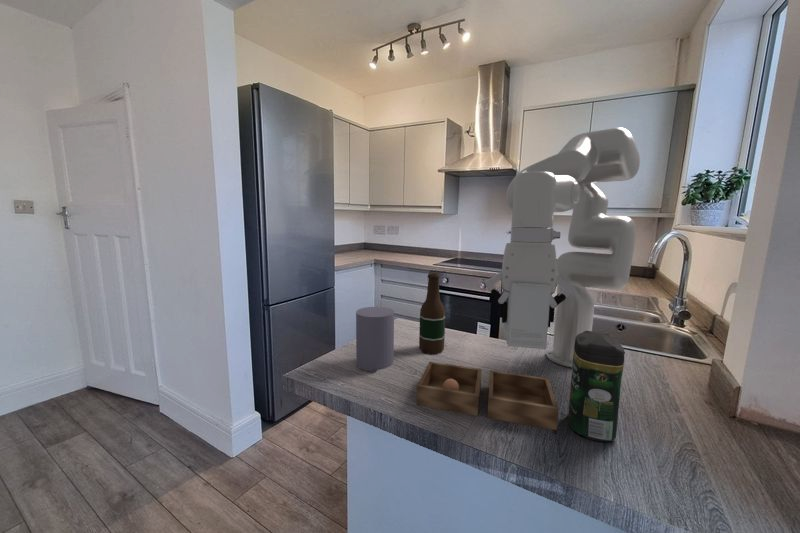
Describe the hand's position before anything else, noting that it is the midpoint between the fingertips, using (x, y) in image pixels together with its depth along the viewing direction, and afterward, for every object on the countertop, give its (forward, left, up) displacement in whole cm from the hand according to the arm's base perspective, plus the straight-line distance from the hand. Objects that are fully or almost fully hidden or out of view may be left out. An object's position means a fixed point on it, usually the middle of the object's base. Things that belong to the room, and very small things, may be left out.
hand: (524, 322), depth 65 cm
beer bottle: (+24, -26, -19) cm, 40 cm away
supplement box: (0, 0, -4) cm, 4 cm away
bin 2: (0, 0, -19) cm, 19 cm away
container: (+37, -11, -19) cm, 43 cm away
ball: (+15, 0, -18) cm, 23 cm away
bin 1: (+15, 0, -19) cm, 24 cm away
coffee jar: (-13, +2, -19) cm, 23 cm away
